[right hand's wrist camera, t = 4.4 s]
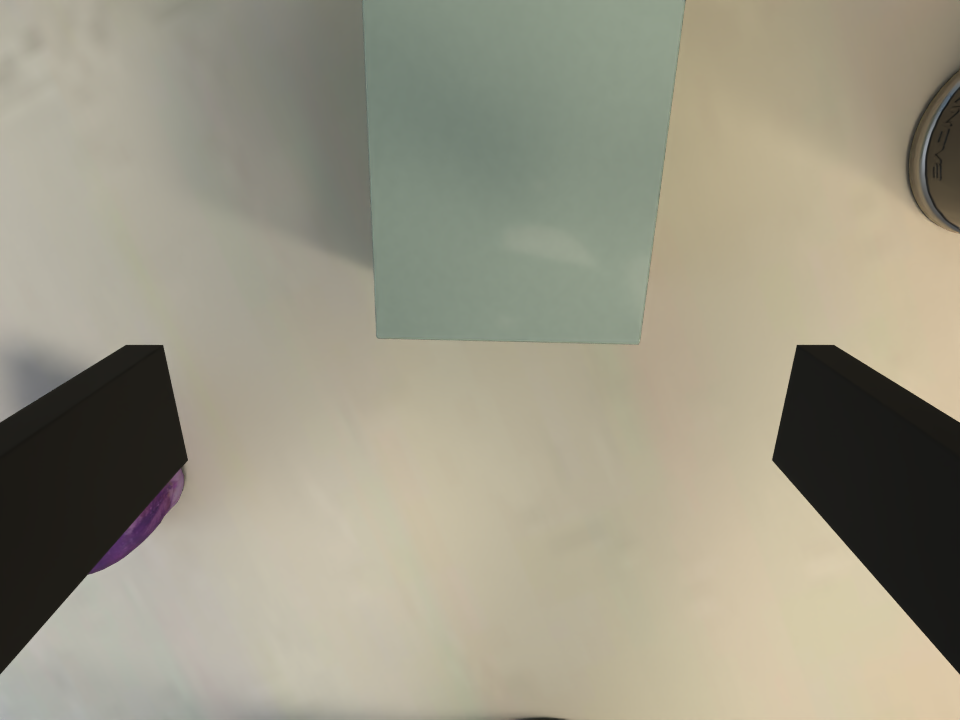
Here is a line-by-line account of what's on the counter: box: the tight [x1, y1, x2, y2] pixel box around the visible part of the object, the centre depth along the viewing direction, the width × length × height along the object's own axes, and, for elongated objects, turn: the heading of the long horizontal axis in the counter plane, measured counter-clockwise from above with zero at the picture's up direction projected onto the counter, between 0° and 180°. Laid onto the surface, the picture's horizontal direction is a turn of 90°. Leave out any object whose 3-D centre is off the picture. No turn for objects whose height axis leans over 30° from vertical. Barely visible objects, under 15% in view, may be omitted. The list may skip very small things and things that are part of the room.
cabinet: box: [362, 0, 686, 345], centre depth 25 cm, size 20×11×9 cm, turn 179°
